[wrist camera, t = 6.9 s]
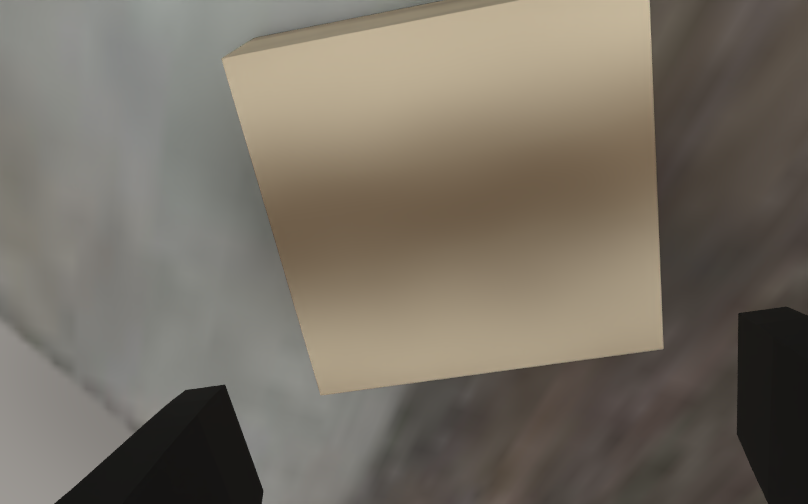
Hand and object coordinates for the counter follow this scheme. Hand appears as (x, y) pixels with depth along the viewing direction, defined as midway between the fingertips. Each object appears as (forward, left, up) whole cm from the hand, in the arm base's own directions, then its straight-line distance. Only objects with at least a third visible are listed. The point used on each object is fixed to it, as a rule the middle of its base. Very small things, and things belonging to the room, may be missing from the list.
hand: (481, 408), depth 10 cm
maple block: (0, 0, -10) cm, 10 cm away
